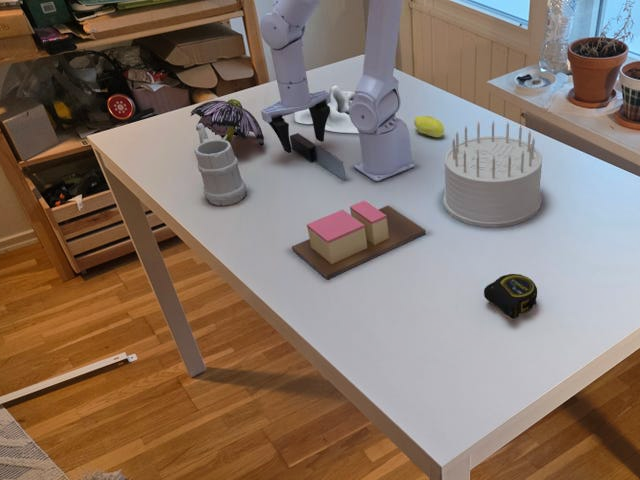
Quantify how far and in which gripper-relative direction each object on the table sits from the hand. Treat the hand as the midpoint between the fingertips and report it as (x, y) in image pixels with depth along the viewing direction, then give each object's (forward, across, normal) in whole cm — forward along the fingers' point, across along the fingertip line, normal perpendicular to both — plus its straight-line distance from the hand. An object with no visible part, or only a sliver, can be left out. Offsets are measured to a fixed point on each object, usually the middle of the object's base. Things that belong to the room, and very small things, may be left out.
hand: (304, 145), depth 134 cm
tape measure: (+2, +3, +65) cm, 65 cm away
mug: (+2, +20, +3) cm, 20 cm away
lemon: (+2, -25, +10) cm, 27 cm away
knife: (+2, 0, +6) cm, 6 cm away
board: (+2, +10, +35) cm, 36 cm away
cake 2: (+2, -16, +40) cm, 43 cm away
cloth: (+2, -16, -12) cm, 20 cm away
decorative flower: (+2, +10, -12) cm, 16 cm away
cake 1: (+1, +14, +35) cm, 38 cm away
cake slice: (+1, +8, +35) cm, 36 cm away
